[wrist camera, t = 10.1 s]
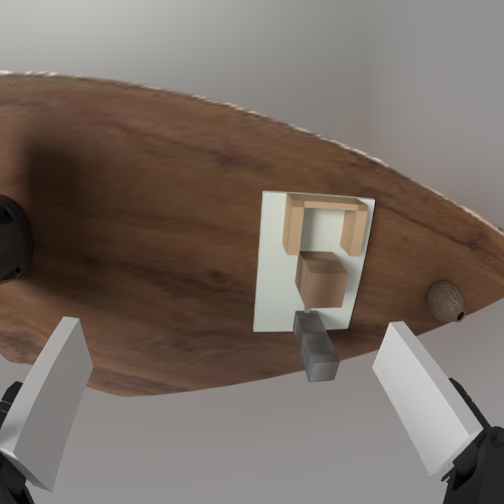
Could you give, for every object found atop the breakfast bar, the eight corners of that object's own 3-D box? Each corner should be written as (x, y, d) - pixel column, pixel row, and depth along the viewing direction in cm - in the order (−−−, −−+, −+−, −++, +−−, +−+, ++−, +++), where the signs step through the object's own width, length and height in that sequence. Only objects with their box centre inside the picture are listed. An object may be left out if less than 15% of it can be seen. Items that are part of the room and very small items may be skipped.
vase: (415, 306, 50) (439, 333, 42) (429, 273, 47) (456, 298, 39) (440, 307, 51) (464, 332, 43) (453, 276, 48) (480, 299, 40)
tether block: (288, 328, 47) (303, 382, 36) (298, 250, 42) (322, 294, 31) (317, 327, 48) (339, 379, 37) (332, 251, 43) (364, 293, 32)
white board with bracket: (253, 327, 48) (255, 347, 43) (262, 190, 40) (267, 198, 35) (345, 325, 49) (355, 343, 45) (372, 198, 41) (388, 207, 36)
